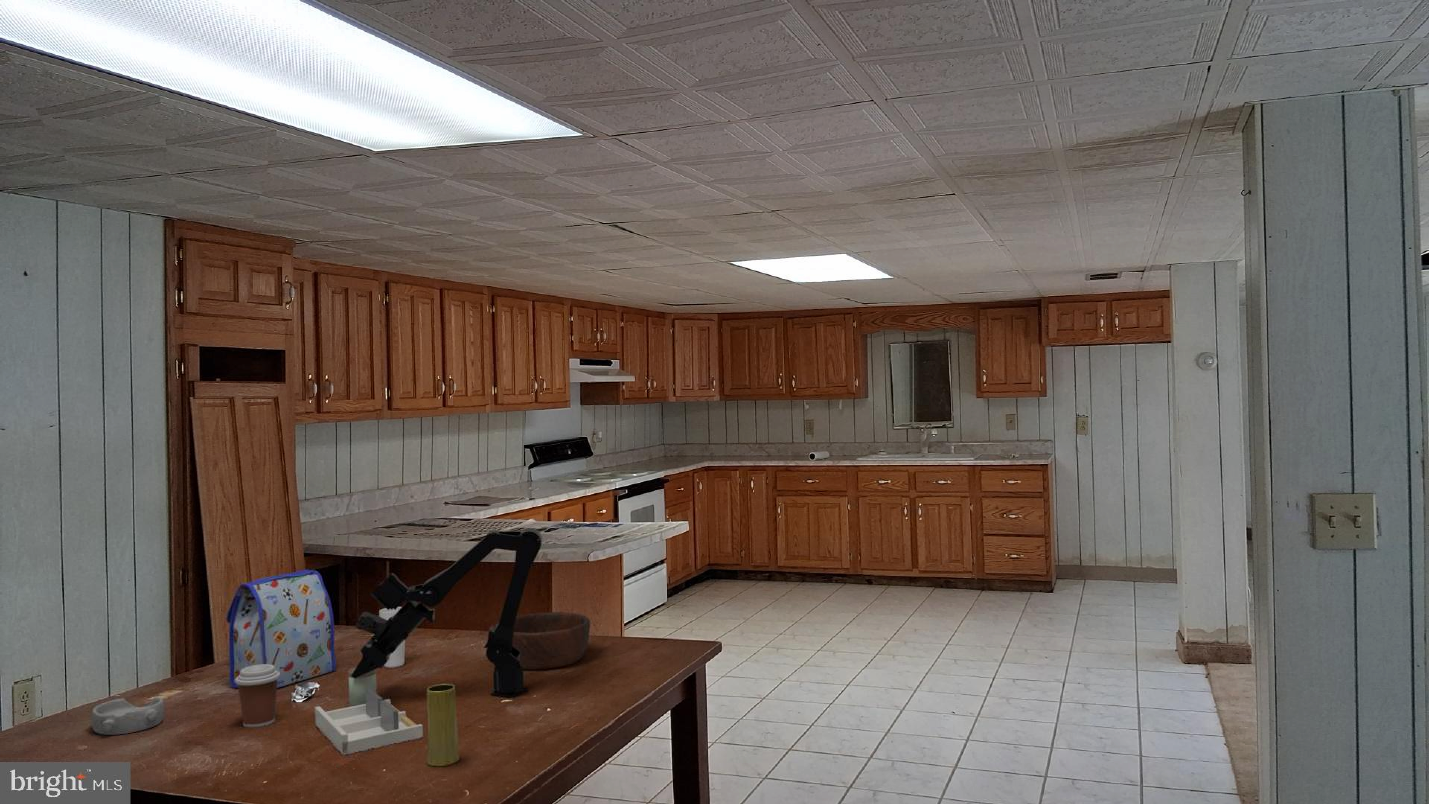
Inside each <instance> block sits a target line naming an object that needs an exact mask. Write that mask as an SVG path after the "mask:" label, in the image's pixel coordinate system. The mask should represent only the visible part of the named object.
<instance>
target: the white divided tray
mask: <svg viewBox="0 0 1429 804" xmlns="http://www.w3.org/2000/svg"><path fill="white" fill-rule="evenodd" d="M380 713H381V716H379V717H374V718H371V717H370V716H368V715H367V714H366V704H362V705H357V706H352V707H351V706H349V707H343V708H338V709H333V710H328V711H325V710H324V709H323V708H322V707H321V706H315V707H314V723H315V724H314V725H316V726H317V727H318V728H319V729H320V730H319V729H318V728H317V727H316V726H315V727H316V728H317V729H318V730H319V731H320V732H321V731H322V732H321V734H322V735H324V737H325V736H326V737H327V738H328V739H329V740H330V741H331V742H330V741H329V740H328V739H327V738H326V737H325V738H326V739H327V740H328V741H329V742H330V743H331V744H332V743H333V744H332V745H333V747H335V748H336V749H337V751H338V750H339V751H340V752H341V753H340V752H339V751H338V752H339V753H340V754H341V755H342V754H343V755H342V756H347V755H346V754H348V755H351V754H356V753H355V752H357V753H360V752H359V751H361V752H365V751H369V750H368V749H370V750H372V749H371V748H374V749H377V748H378V749H379V748H381V747H382V746H383V747H386V746H391V745H395V744H394V743H396V744H399V743H405V742H409V741H413V740H418V739H421V737H422V738H424V730H423V724H420V723H419V724H416V723H415V722H414V721H413V720H411V719H410V718H409V717H407V714H406V713H407V712H406V710H402V711H400V710H399V709H397V708H396V706H394V705H393V704H391V699H390V698H388V699H387V698H386V699H384V700H383V699H382V701H380ZM408 740H409V741H408ZM404 741H405V742H404ZM390 744H391V745H390Z"/></svg>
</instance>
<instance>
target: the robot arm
mask: <svg viewBox="0 0 1429 804" xmlns="http://www.w3.org/2000/svg"><path fill="white" fill-rule="evenodd" d="M542 543H543V537H542V534H541V533H540V531H539V530H537V529H536V528H532V527H529V528H528V527H527V528H525V529H524V530H522V531H519V530H518V531H517V530H513V531H512V530H509V531H507V530H505V531H501V530H500V531H498V530H490V531H488V532H487V534H486V535H485V536H484V537H483V538H482V539H481V540H479V541H478V542H477V543H476V544H475V545H473V547H471V548H470V549H469V550H468V551H467V552H465V553H464V554H463V555H462V556H460V558H459V559H458V560H456V561H455V562H454V563H453V564H452V565H451V566H450V567H447V568H446V569H444V570H442V571H440V572H439V573H437V574H435V575H434V576H432V577H430V578H429V579H427V580H426V581H425V582H424V583H423V584H422V583H420V584H417V585H411V586H410V587H408V586H407V585H406V583H404V582H402V581H401V580H400V579H399V577H398V576H397V574H395V573H394V572H393V573H390V574H389V575H388V577H386V579H385V580H383V581H382V582H381V583H380V584H379V585H378V586H377V587H375V588H374V590H373V591H372V592H371V593H370V596H371V597H373V598H374V599H375V600H376V601H377V602H378V603H380V605H382V606H383V607H384V608H386V609H388V610H389V609H391V610H392V609H393V608H394V610H396V609H397V608H398V607H400V606H401V604H402V603H403V602H404V601H406V602H405V603H404V604H403V605H402V606H401V607H402V608H401V609H400V610H399V611H398V612H397V613H396V614H395V615H394V616H393V617H390V618H389V619H388V620H386V619H383V618H381V617H379V615H377V614H374V613H371V612H369V611H362V613H361V614H360V616H359V619H358V620H357V623H356V625H355V628H356V629H357V630H359V631H364V632H367V633H370V634H373V635H372V636H371V638H370V639H369V640H368V641H367V642H366V644H364V646H363V647H361V648H360V653H361V654H362V655H361V659H360V661H359V663H358V664H357V666H355V667H356V669H355V670H354V672H353V674H352V675H351V676H352V677H353V678H354V679H355V678H357V677H359V676H362V675H364V674H366V673H368V672H370V671H372V670H375V669H376V670H377V669H382V668H383V667H385V666H384V665H385V664H386V663H387V661H388V660H389V659H390V658H389V656H390V654H391V653H393V652H394V651H395V650H396V649H397V647H398V646H399V645H400V644H401V643H402V642H403V641H404V640H405V641H406V639H407V638H409V636H410V635H411V634H412V633H413V631H415V629H416V628H417V627H418V626H419V625H420V624H422V622H423V621H424V620H425V619H426V620H427V621H428V622H429V623H433V622H434V620H435V618H436V617H435V613H436V609H435V608H434V607H436V606H438V605H439V604H441V602H442V601H443V600H444V599H445V597H446V596H447V595H448V594H449V593H450V592H451V590H452V589H453V588H454V586H455V585H456V584H457V583H458V581H460V580H461V579H462V577H464V576H465V575H466V574H468V573H469V572H470V571H471V570H472V569H473V568H475V566H477V565H478V564H479V563H480V562H482V560H484V559H485V558H486V557H487V556H488V555H490V554H491V553H492V552H494V550H505V551H511V552H513V551H514V552H515V557H514V558H515V559H514V568H513V572H512V575H511V578H510V583H509V586H508V589H507V593H506V597H505V599H504V600H505V601H504V604H503V608H502V612H501V614H500V619H499V621H498V623H497V624H498V625H497V624H496V625H497V627H496V626H494V625H490V628H489V630H488V636H487V639H486V641H485V644H484V647H483V648H484V649H486V651H485V655H486V656H485V657H486V658H487V660H488V661H489V662H490V663H492V664H494V667H493V674H492V675H493V676H492V677H493V680H492V681H493V691H490V695H491V696H497V697H498V696H499V697H505V698H513V697H516V696H518V695H520V694H522V693H524V692H527V691H528V690H529V687H525V684H524V683H525V681H524V669H523V666H521V665H520V660H521V655H522V653H521V652H520V651H519V650H517V649H516V648H515V647H514V646H513V637H514V624H515V620H516V616H518V612H519V608H520V605H521V601H522V597H523V595H524V591H525V586H526V583H527V580H528V576H529V573H530V570H531V568H532V566H533V564H534V562H535V560H536V558H537V556H538V554H539V552H540V549H541V547H542ZM429 607H431V608H429Z"/></svg>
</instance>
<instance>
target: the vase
mask: <svg viewBox="0 0 1429 804" xmlns="http://www.w3.org/2000/svg"><path fill="white" fill-rule="evenodd" d="M455 686H456V685H454V684H452V683H438V684H434V685H431V686H429V687H427V689H426V706H427V708H426V709H427V738H428V739H427V756H426V757H427V758H426V763H427V765H428V766H431V767H445V766H450V765H453V764H455V763H457V762H459V760H460V755H459V754H460V753H459V740H458V739H459V738H458V737H459V736H458V723H457V721H458V719H457V708H456V707H457V704H456V687H455Z"/></svg>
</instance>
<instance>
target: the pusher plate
mask: <svg viewBox="0 0 1429 804" xmlns="http://www.w3.org/2000/svg"><path fill="white" fill-rule="evenodd" d="M382 700H383V697H382V696H380V695H379V694H376V693H375V692H374V691H373V690H371V689H366V714H367V715H368V716H370V717H371V718H374V717H379V716H381V713H380V701H382Z"/></svg>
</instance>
